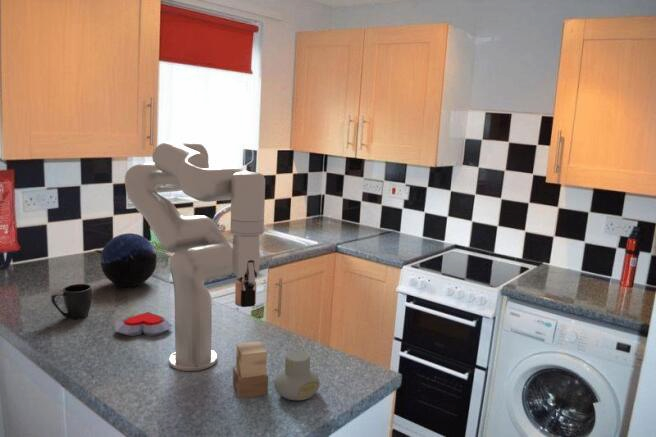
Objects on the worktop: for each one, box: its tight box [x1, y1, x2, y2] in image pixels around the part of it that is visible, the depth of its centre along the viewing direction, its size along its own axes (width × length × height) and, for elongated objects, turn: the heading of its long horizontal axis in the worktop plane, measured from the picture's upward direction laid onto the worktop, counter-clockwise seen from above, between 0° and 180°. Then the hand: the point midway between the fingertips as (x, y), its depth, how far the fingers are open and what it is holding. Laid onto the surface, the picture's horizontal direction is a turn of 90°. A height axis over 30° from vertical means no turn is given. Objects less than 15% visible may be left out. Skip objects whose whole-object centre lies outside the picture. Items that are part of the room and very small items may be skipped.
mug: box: [50, 283, 93, 320], centre depth 168 cm, size 8×12×10 cm
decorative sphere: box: [99, 232, 158, 288], centre depth 200 cm, size 20×20×20 cm
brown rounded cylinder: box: [234, 280, 257, 307], centre depth 124 cm, size 5×5×5 cm
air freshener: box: [273, 351, 320, 401], centre depth 128 cm, size 11×8×10 cm
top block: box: [235, 340, 268, 378], centre depth 129 cm, size 6×6×6 cm
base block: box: [232, 365, 269, 400], centre depth 130 cm, size 7×7×5 cm
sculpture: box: [114, 311, 173, 337], centre depth 163 cm, size 17×4×15 cm
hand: (245, 301), depth 124 cm, fingers closed on brown rounded cylinder, 4 cm apart
